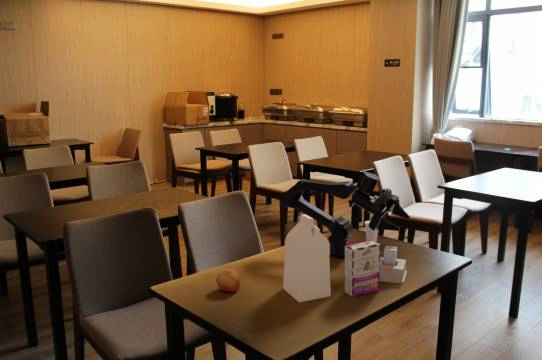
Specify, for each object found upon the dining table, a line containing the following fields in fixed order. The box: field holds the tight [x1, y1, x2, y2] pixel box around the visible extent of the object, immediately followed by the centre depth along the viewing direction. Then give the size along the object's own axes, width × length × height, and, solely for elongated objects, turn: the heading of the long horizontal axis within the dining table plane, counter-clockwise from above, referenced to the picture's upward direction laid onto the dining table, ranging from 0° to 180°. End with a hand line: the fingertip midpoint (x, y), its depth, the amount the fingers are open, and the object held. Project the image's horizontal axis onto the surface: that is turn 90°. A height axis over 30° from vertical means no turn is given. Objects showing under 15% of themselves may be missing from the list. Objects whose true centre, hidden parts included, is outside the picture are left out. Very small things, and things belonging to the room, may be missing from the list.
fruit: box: [215, 268, 241, 293], centre depth 174 cm, size 8×8×8 cm
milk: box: [282, 213, 332, 303], centre depth 170 cm, size 12×12×26 cm
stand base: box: [379, 256, 408, 285], centre depth 185 cm, size 11×11×5 cm
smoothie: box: [364, 220, 379, 243], centre depth 218 cm, size 6×6×14 cm
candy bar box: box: [344, 240, 381, 298], centre depth 171 cm, size 11×5×16 cm, turn 117°
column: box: [383, 245, 398, 266], centre depth 184 cm, size 4×4×10 cm
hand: (404, 223), depth 191 cm, fingers open, 9 cm apart
